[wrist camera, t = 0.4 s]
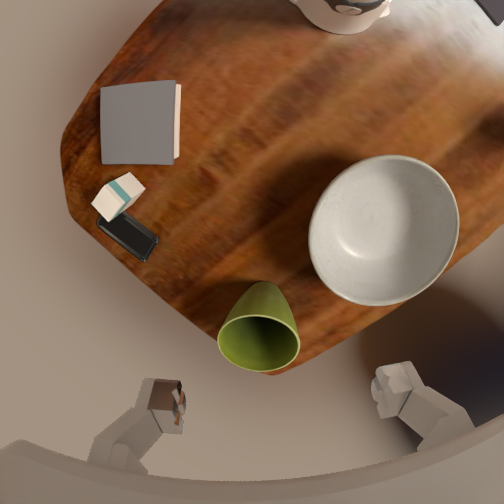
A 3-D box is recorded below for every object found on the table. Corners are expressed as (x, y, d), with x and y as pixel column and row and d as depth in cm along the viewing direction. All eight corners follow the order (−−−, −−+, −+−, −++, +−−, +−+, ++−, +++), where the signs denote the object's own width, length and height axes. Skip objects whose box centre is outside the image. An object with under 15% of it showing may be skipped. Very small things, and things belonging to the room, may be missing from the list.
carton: (129, 171, 56) (103, 185, 47) (145, 188, 57) (122, 205, 49) (116, 188, 58) (91, 203, 49) (132, 204, 59) (108, 222, 51)
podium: (114, 87, 48) (100, 87, 43) (184, 81, 47) (174, 79, 42) (114, 158, 55) (102, 164, 50) (181, 159, 54) (172, 164, 49)
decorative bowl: (285, 168, 52) (284, 185, 42) (417, 129, 45) (448, 137, 35) (325, 286, 63) (331, 322, 52) (437, 251, 56) (461, 281, 45)
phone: (144, 263, 65) (95, 225, 62) (146, 261, 66) (97, 223, 63) (159, 240, 62) (107, 199, 59) (161, 237, 63) (109, 197, 60)
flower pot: (301, 267, 62) (302, 316, 48) (297, 321, 68) (297, 373, 54) (229, 264, 63) (212, 312, 49) (234, 318, 70) (221, 368, 56)
